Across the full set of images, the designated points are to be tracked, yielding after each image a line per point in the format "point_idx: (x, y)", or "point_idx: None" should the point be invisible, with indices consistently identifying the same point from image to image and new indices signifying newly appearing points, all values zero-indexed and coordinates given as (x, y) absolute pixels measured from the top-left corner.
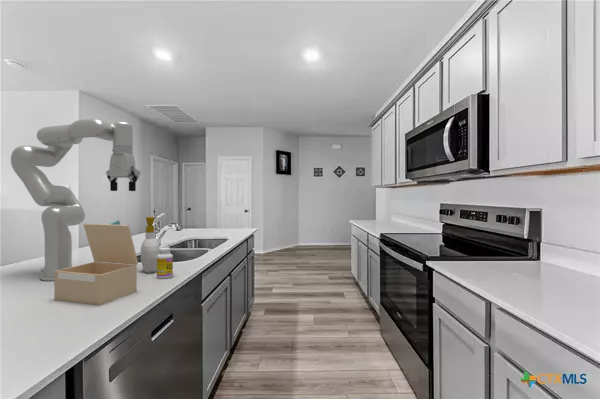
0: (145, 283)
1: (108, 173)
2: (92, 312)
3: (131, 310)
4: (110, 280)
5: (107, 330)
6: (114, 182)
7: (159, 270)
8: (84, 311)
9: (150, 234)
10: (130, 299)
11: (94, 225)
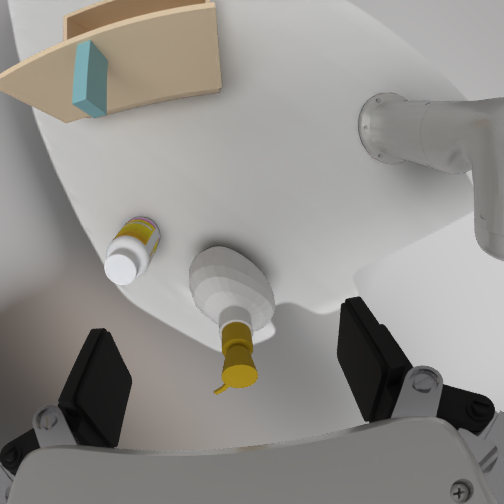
0: (132, 170)
1: (501, 446)
2: (73, 11)
3: (27, 54)
4: None
5: (10, 7)
6: (371, 394)
7: (132, 223)
8: (89, 4)
9: (222, 321)
10: None
11: (143, 17)
